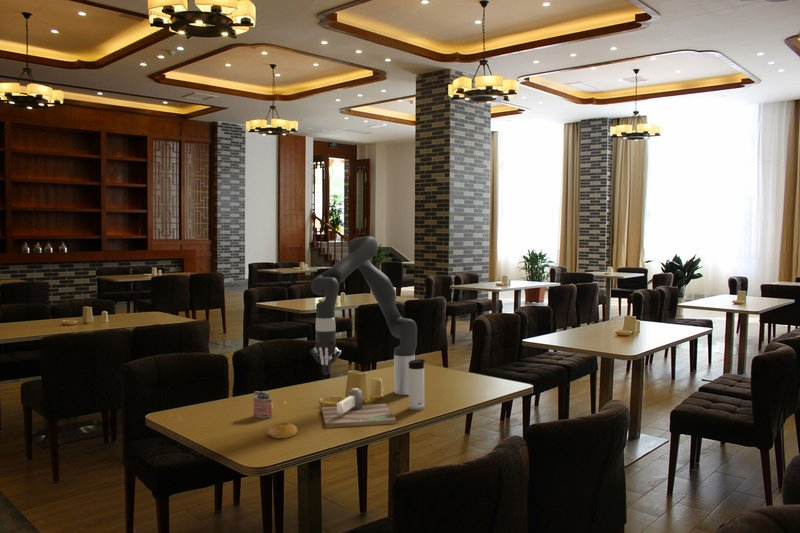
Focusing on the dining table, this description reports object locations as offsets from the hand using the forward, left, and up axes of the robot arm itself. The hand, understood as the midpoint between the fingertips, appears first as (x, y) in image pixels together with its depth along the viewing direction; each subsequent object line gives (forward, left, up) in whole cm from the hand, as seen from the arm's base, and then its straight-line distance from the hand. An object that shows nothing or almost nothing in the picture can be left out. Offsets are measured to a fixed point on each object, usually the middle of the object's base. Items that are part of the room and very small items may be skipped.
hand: (326, 374), depth 250 cm
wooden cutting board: (+1, +12, -17) cm, 21 cm away
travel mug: (-6, +37, -17) cm, 41 cm away
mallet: (-1, +9, -16) cm, 18 cm away
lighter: (-7, -24, -17) cm, 31 cm away
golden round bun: (+17, -17, -18) cm, 29 cm away
